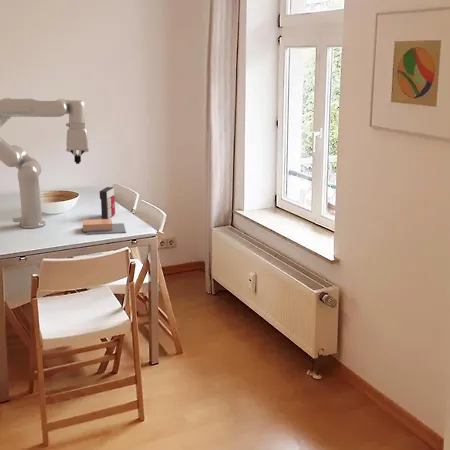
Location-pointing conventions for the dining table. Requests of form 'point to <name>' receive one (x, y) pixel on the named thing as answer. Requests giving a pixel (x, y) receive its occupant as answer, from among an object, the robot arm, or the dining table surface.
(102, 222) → the sponge
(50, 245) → the dining table surface
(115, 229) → the mat
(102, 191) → the grey red upright box
